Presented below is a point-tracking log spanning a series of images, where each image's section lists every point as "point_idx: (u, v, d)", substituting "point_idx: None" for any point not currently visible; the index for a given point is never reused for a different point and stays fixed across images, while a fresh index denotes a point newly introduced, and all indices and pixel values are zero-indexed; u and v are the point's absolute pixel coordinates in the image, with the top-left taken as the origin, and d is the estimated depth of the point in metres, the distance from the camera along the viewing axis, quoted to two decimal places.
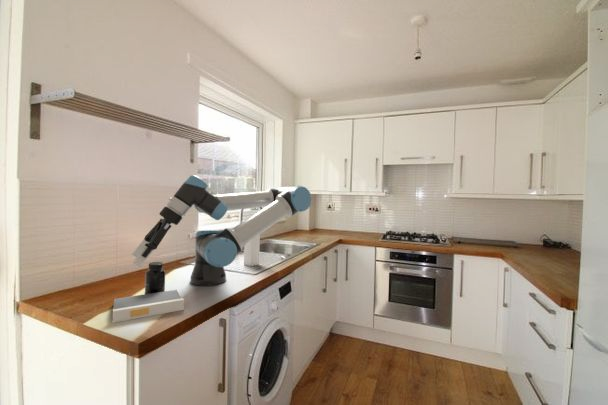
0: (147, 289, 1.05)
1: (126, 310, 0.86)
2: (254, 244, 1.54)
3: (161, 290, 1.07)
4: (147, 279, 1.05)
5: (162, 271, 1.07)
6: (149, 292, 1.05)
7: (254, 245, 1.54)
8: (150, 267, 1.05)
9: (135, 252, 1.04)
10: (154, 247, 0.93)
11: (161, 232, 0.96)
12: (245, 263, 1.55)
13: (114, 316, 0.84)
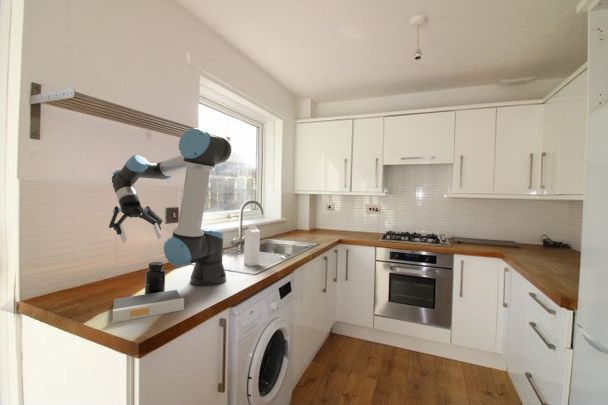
0: (147, 289, 1.05)
1: (126, 310, 0.86)
2: (254, 244, 1.54)
3: (161, 290, 1.07)
4: (147, 279, 1.05)
5: (162, 271, 1.07)
6: (149, 292, 1.05)
7: (254, 245, 1.54)
8: (150, 267, 1.05)
9: (157, 235, 1.20)
10: (110, 224, 1.09)
11: (113, 215, 1.13)
12: (245, 263, 1.55)
13: (114, 316, 0.84)
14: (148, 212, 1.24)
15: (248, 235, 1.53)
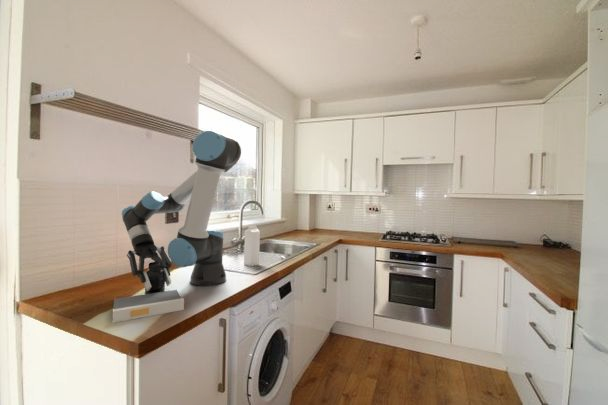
0: None
1: (126, 310, 0.86)
2: (254, 243, 1.54)
3: (161, 290, 1.07)
4: None
5: (162, 271, 1.07)
6: (149, 292, 1.05)
7: (254, 245, 1.54)
8: (150, 267, 1.05)
9: (166, 282, 1.09)
10: (134, 272, 1.03)
11: (130, 261, 1.06)
12: (245, 263, 1.55)
13: (114, 316, 0.84)
14: (160, 253, 1.16)
15: (248, 235, 1.53)
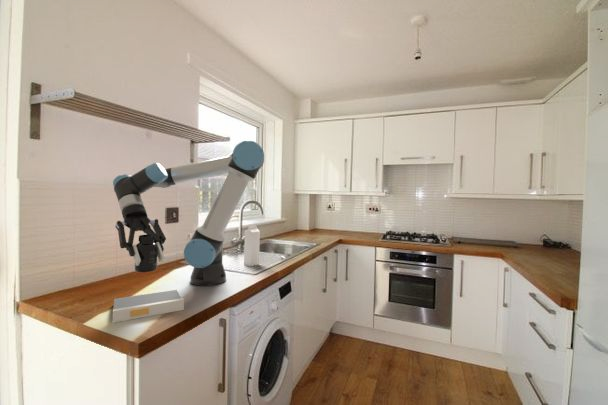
0: None
1: (126, 310, 0.86)
2: (254, 244, 1.54)
3: (152, 266, 0.95)
4: None
5: (154, 244, 0.96)
6: (139, 267, 0.93)
7: (254, 245, 1.54)
8: (140, 239, 0.94)
9: (159, 258, 0.97)
10: (121, 244, 0.92)
11: (119, 232, 0.95)
12: (245, 263, 1.55)
13: (114, 316, 0.84)
14: (154, 226, 1.04)
15: (248, 235, 1.53)
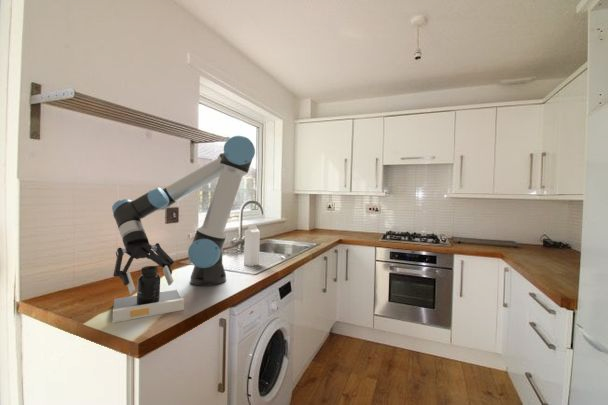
0: (140, 298, 0.91)
1: (126, 310, 0.86)
2: (254, 244, 1.54)
3: (155, 299, 0.93)
4: (139, 286, 0.91)
5: (157, 277, 0.94)
6: (141, 301, 0.91)
7: (254, 245, 1.54)
8: (143, 272, 0.92)
9: (167, 281, 0.98)
10: (115, 272, 0.88)
11: None
12: (245, 263, 1.55)
13: (114, 316, 0.84)
14: (157, 250, 1.03)
15: (248, 235, 1.53)
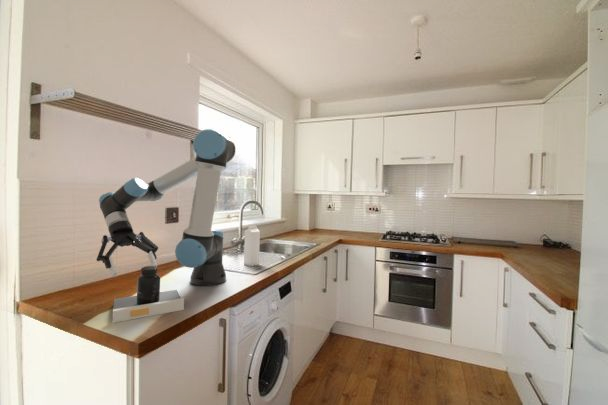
0: (139, 298, 0.91)
1: (126, 310, 0.86)
2: (254, 244, 1.54)
3: (155, 299, 0.93)
4: (139, 286, 0.91)
5: (157, 277, 0.94)
6: (141, 301, 0.91)
7: (254, 245, 1.54)
8: (143, 272, 0.92)
9: (152, 265, 1.07)
10: (97, 257, 0.96)
11: None
12: (245, 263, 1.55)
13: (114, 316, 0.84)
14: (141, 238, 1.11)
15: (248, 235, 1.53)
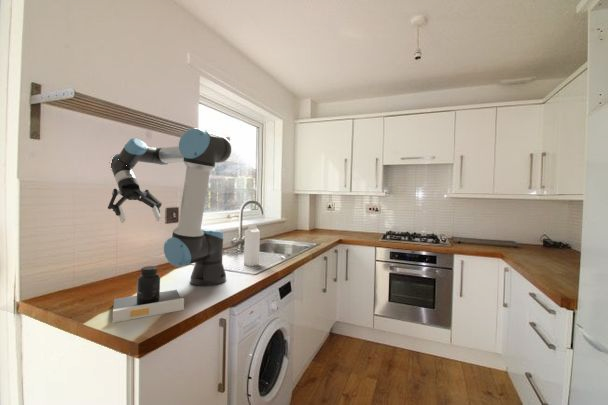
0: (139, 298, 0.91)
1: (126, 310, 0.86)
2: (254, 244, 1.54)
3: (155, 299, 0.93)
4: (139, 286, 0.91)
5: (156, 277, 0.94)
6: (141, 301, 0.91)
7: (254, 245, 1.54)
8: (143, 272, 0.92)
9: (156, 218, 1.20)
10: (109, 205, 1.09)
11: (112, 197, 1.13)
12: (245, 263, 1.55)
13: (114, 316, 0.84)
14: (147, 195, 1.24)
15: (248, 235, 1.53)
